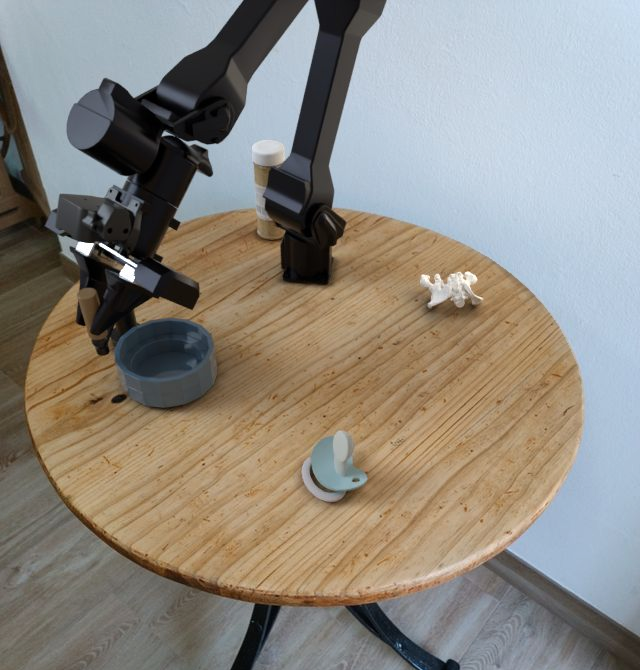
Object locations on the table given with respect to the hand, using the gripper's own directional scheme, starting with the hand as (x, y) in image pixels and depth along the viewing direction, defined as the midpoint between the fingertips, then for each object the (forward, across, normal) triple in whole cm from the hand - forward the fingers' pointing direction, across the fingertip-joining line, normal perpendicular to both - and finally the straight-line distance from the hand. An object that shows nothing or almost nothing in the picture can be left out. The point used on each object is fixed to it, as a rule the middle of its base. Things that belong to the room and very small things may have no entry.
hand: (86, 329), depth 73 cm
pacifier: (+1, +28, +12) cm, 30 cm away
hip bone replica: (-23, +20, +36) cm, 47 cm away
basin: (+2, +3, +12) cm, 12 cm away
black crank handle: (+3, -3, +9) cm, 10 cm away
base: (+1, -6, +12) cm, 14 cm away
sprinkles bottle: (-20, -10, +34) cm, 41 cm away
